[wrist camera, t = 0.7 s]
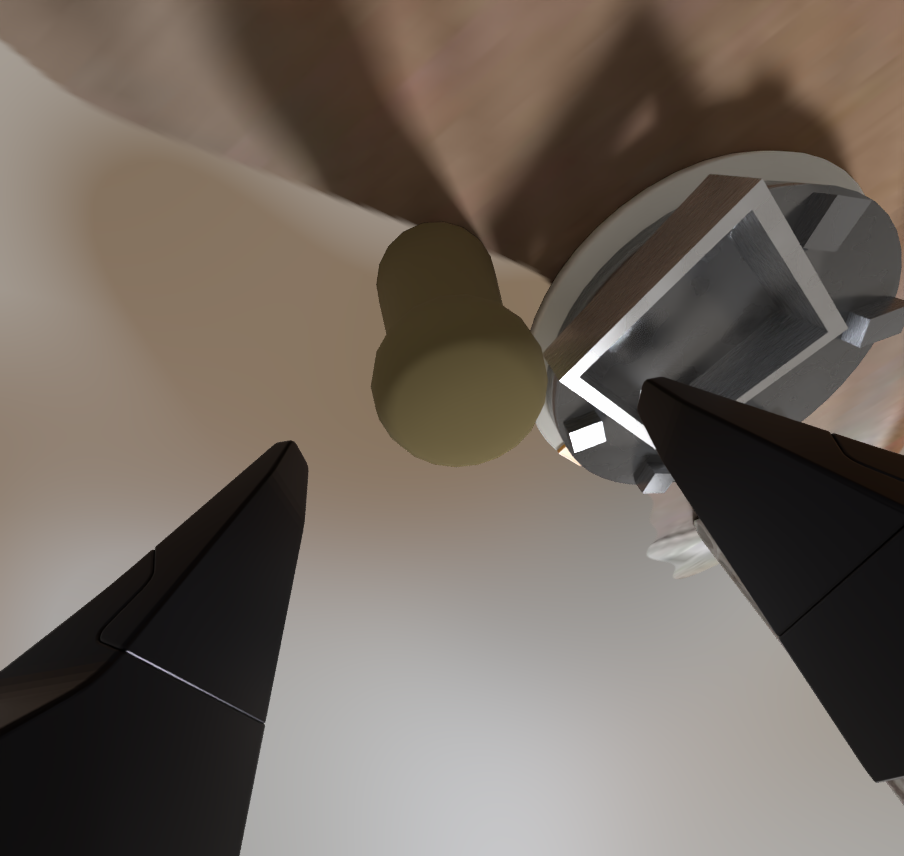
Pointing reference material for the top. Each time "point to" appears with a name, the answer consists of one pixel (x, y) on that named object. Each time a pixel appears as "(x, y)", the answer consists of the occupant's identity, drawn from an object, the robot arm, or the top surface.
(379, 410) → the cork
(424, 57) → the top surface
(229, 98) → the top surface
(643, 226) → the base plate
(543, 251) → the top surface
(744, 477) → the robot arm
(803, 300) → the grey tabbed disc
